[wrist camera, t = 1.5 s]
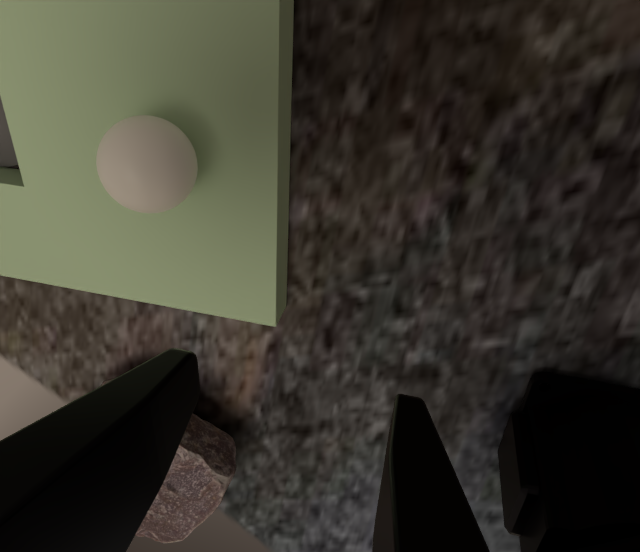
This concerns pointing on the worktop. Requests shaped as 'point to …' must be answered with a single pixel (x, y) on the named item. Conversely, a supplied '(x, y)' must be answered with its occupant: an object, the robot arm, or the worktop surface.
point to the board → (160, 101)
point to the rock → (191, 483)
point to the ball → (146, 164)
